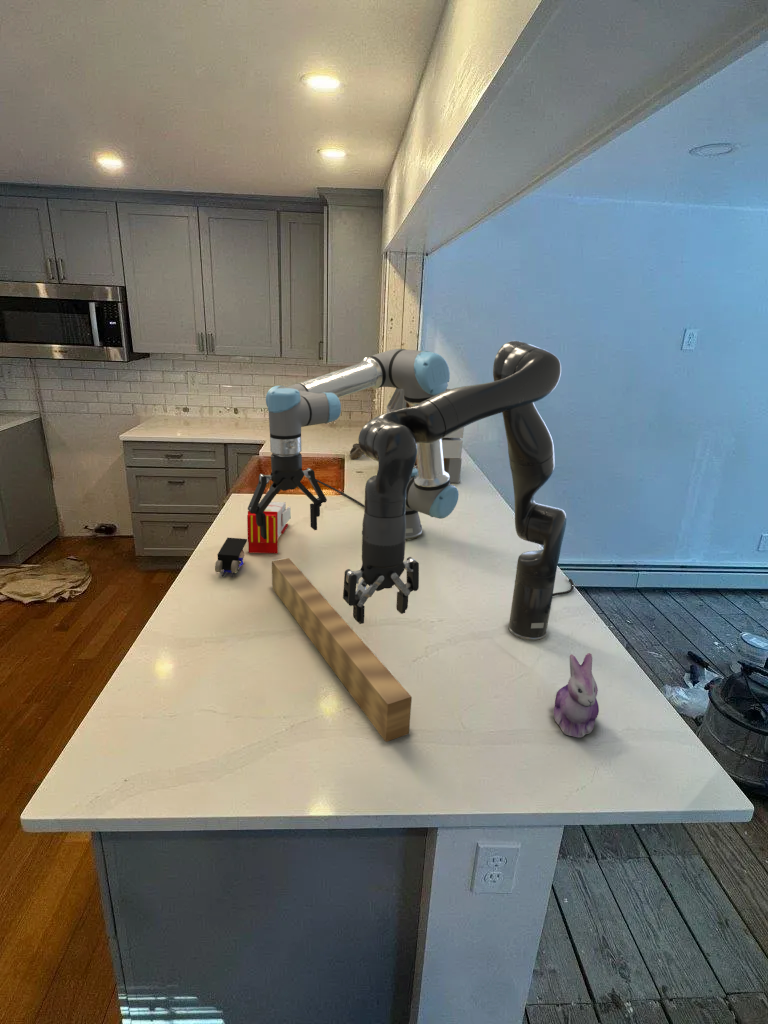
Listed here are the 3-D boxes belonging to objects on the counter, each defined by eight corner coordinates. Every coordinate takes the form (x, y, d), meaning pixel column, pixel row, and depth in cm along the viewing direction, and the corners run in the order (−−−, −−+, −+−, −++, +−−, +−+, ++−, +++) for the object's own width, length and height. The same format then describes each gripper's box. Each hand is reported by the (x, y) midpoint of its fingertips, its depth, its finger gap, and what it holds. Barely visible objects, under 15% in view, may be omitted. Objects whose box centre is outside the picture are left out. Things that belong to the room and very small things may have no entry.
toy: (293, 496, 204) (280, 513, 174) (293, 532, 206) (280, 555, 177) (259, 495, 203) (240, 512, 174) (259, 531, 206) (241, 554, 177)
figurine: (577, 747, 104) (590, 678, 99) (539, 713, 113) (549, 648, 108) (613, 732, 109) (628, 665, 104) (573, 700, 117) (585, 637, 112)
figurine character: (238, 584, 162) (249, 557, 175) (236, 562, 158) (247, 536, 172) (215, 584, 161) (227, 556, 175) (212, 561, 158) (225, 535, 171)
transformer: (382, 463, 289) (386, 382, 275) (445, 464, 293) (451, 384, 279) (390, 482, 257) (394, 392, 243) (460, 483, 261) (468, 394, 247)
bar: (272, 588, 158) (271, 560, 155) (289, 585, 160) (289, 557, 157) (385, 742, 104) (387, 704, 101) (409, 733, 106) (411, 696, 103)
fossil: (349, 442, 312) (371, 426, 307) (360, 455, 315) (381, 440, 310) (343, 455, 293) (366, 439, 288) (355, 470, 296) (377, 454, 291)
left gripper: (239, 462, 131) (245, 546, 138) (338, 451, 142) (339, 529, 149) (231, 454, 137) (237, 535, 144) (327, 444, 148) (327, 520, 156)
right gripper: (356, 550, 92) (354, 636, 98) (430, 536, 98) (424, 617, 104) (337, 533, 98) (336, 615, 104) (408, 522, 105) (403, 599, 110)
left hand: (289, 532), depth 147 cm, fingers open, 13 cm apart
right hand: (380, 616), depth 104 cm, fingers open, 8 cm apart
